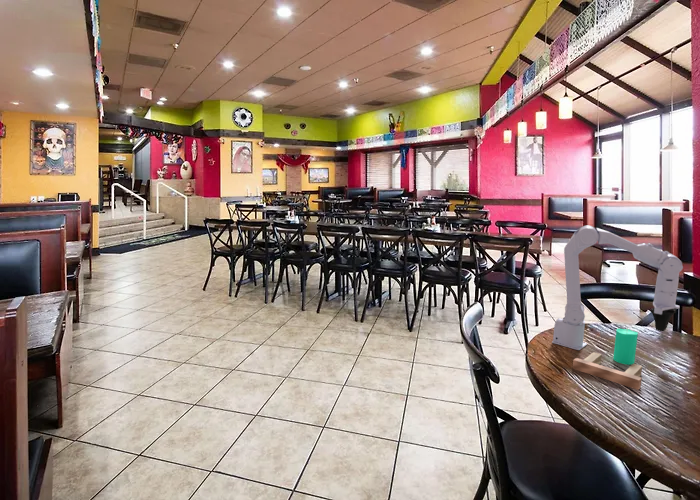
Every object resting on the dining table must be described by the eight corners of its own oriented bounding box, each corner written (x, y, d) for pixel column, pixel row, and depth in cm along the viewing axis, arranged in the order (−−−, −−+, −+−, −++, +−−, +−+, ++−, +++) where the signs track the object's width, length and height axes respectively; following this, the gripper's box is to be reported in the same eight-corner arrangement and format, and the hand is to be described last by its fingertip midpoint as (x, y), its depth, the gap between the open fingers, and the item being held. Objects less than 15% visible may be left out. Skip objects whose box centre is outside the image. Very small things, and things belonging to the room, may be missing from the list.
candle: (637, 365, 134) (642, 330, 132) (617, 363, 135) (621, 329, 133) (629, 357, 140) (633, 324, 138) (610, 356, 141) (613, 323, 139)
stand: (572, 368, 132) (573, 359, 131) (586, 358, 139) (586, 350, 139) (638, 389, 119) (639, 380, 118) (649, 377, 126) (650, 368, 125)
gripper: (675, 297, 127) (670, 338, 129) (686, 289, 136) (680, 327, 138) (648, 292, 132) (643, 332, 134) (660, 285, 141) (655, 322, 144)
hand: (660, 329), depth 137 cm, fingers closed
